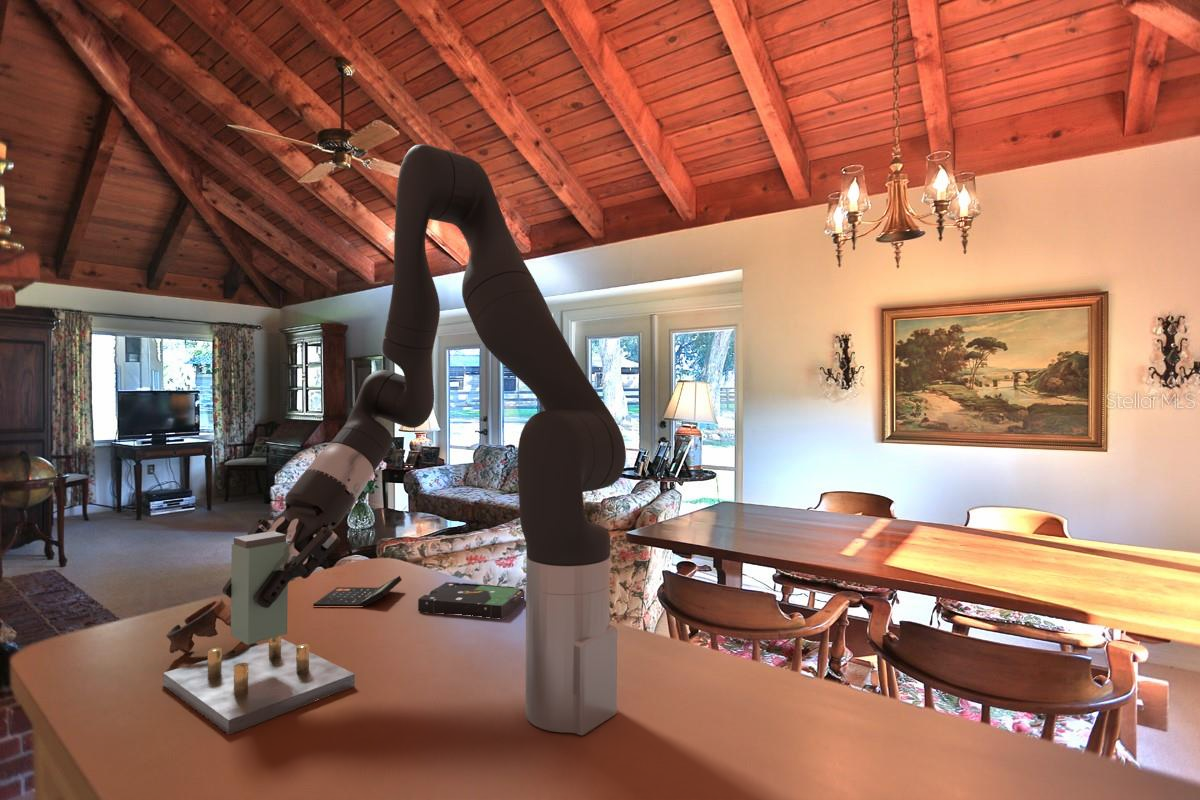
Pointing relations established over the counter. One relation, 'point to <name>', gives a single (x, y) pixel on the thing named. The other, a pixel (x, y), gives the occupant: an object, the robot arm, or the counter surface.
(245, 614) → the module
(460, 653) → the counter surface
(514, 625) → the counter surface
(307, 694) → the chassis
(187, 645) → the pottery mug
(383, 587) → the calculator
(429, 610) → the disk drive
